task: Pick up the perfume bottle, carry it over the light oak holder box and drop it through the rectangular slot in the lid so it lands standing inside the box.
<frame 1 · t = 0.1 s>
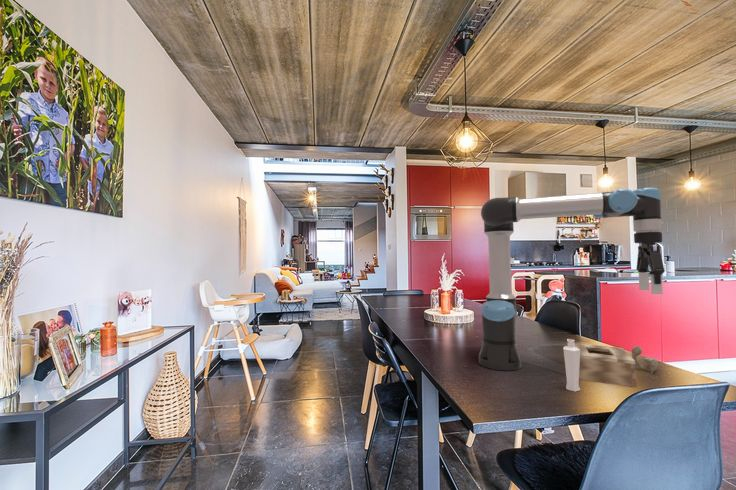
hand: (650, 292, 113), 28 cm above the table, fingers open, 13 cm apart
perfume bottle: (571, 389, 99), on the table
holder box: (600, 374, 110), on the table
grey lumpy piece: (648, 371, 114), on the table
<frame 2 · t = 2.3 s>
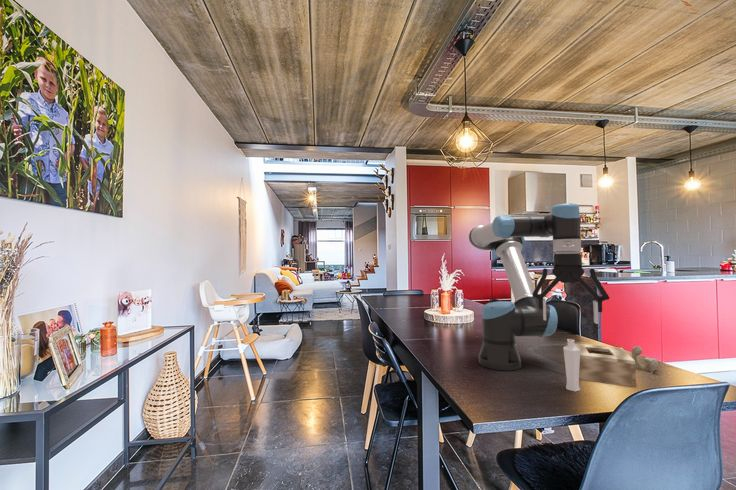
hand: (569, 321, 99), 21 cm above the table, fingers open, 13 cm apart
nothing on the table moved.
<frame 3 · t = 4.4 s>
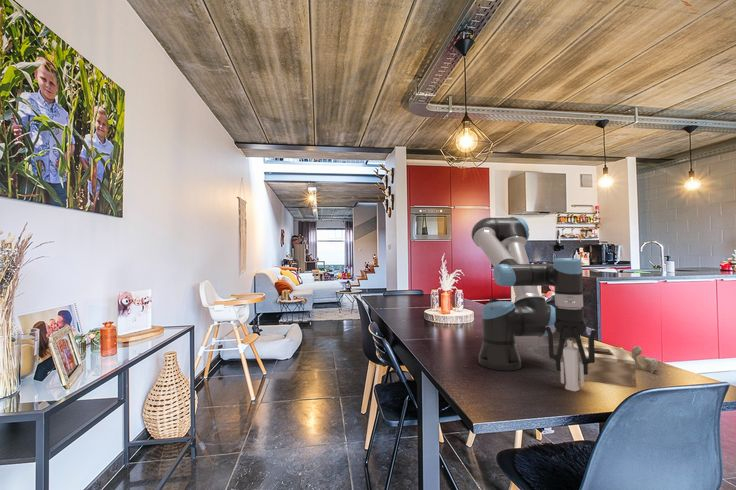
hand: (572, 383, 99), 2 cm above the table, fingers closed on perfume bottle, 4 cm apart
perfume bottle: (571, 389, 99), on the table, touching gripper
everything else where it was.
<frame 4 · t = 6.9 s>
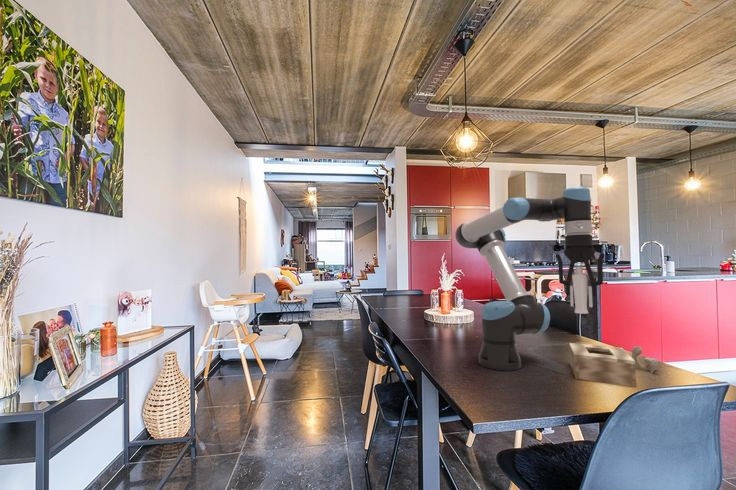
hand: (581, 305, 104), 25 cm above the table, fingers closed on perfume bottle, 4 cm apart
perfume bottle: (580, 313, 104), point 22 cm above the table, touching gripper
everything else where it was.
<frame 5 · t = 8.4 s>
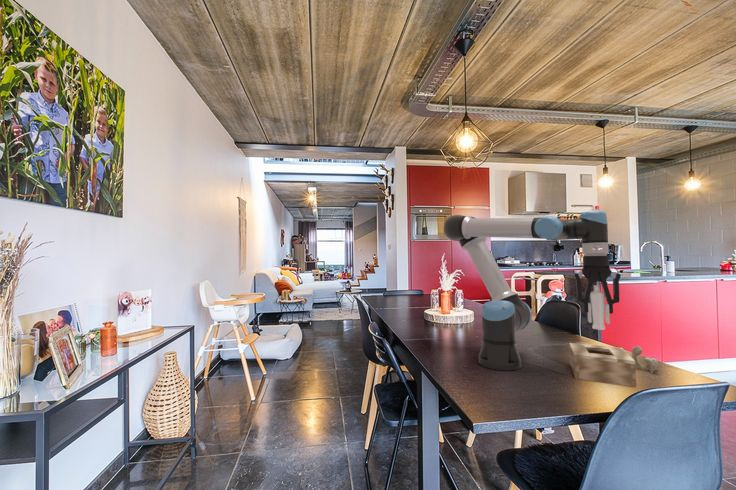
hand: (598, 322, 111), 18 cm above the table, fingers closed on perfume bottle, 4 cm apart
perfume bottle: (597, 329, 111), point 16 cm above the table, touching gripper
everything else where it was.
when the fingers open (10 cm above the table, at t = 9.5 s): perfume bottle drops 7 cm, resting on holder box.
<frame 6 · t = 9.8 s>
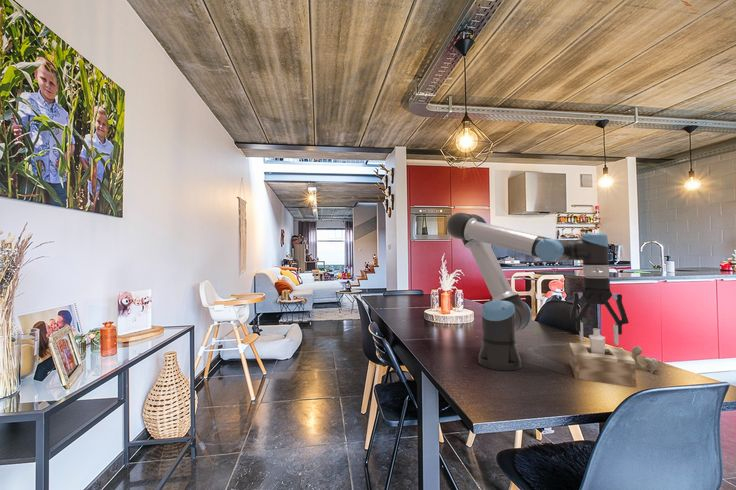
hand: (598, 342, 111), 11 cm above the table, fingers open, 9 cm apart
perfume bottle: (598, 372, 110), point 1 cm above the table, touching holder box
everything else where it was.
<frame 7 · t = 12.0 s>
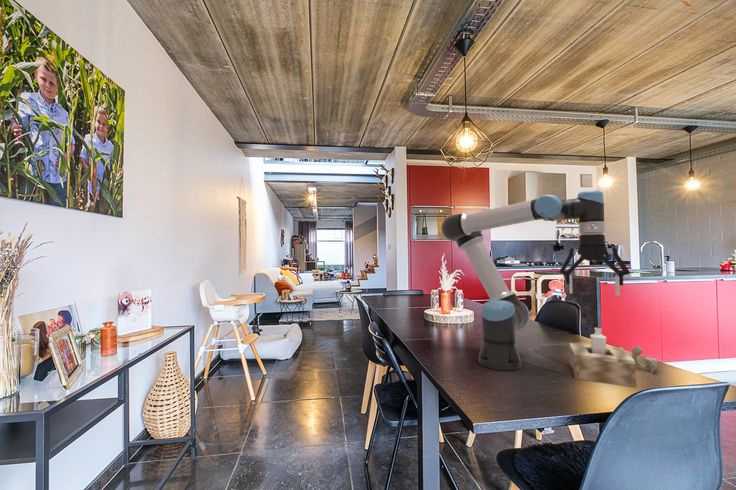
hand: (593, 294, 113), 27 cm above the table, fingers open, 13 cm apart
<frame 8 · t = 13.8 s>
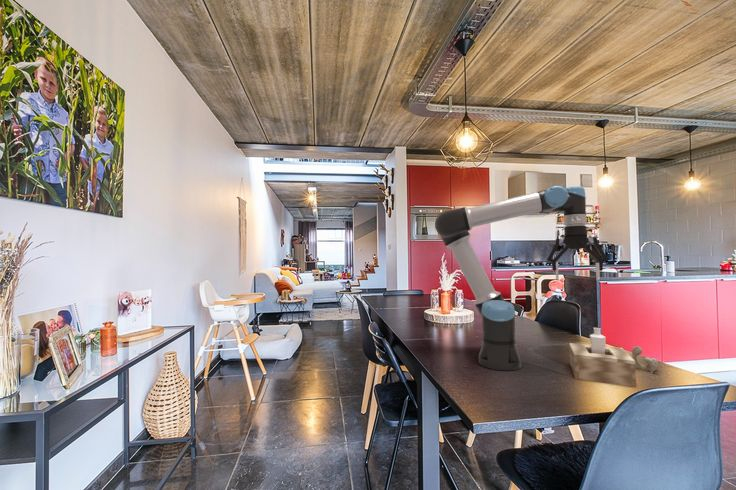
hand: (577, 279, 127), 32 cm above the table, fingers open, 13 cm apart
at the end: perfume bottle inside the target area on the holder box (0.6 cm from its centre), point 0.6 cm above the holder box's base; the gripper is holding nothing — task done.
